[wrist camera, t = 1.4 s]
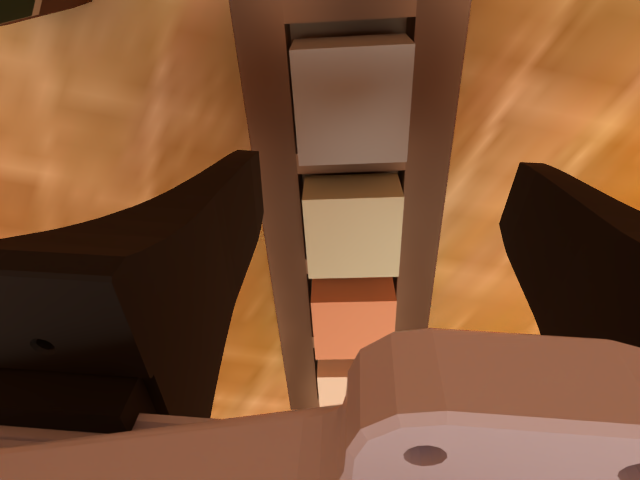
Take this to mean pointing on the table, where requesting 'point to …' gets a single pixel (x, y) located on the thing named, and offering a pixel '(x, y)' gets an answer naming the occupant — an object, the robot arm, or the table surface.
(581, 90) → the table surface
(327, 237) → the key sage
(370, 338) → the key terracotta
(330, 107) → the key slate
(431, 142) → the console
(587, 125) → the table surface
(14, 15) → the beer bottle
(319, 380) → the key ivory
